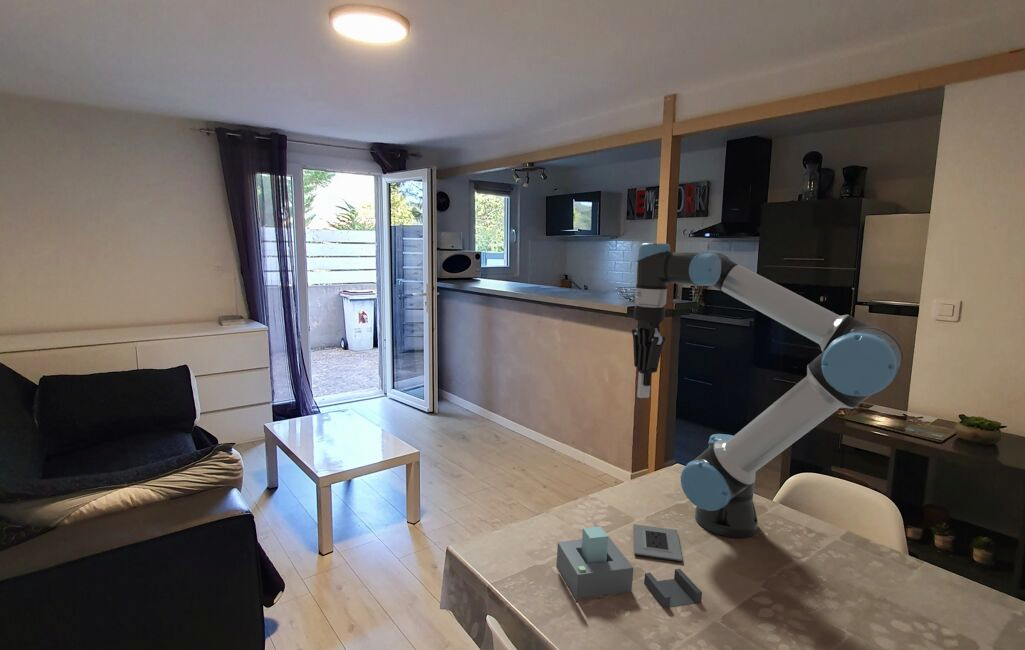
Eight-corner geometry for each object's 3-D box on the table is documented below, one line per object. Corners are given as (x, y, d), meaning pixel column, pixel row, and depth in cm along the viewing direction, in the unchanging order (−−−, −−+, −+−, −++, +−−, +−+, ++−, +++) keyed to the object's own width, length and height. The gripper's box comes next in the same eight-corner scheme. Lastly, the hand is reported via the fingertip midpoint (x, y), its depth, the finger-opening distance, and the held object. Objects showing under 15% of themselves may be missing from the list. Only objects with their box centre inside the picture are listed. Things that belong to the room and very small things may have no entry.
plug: (597, 569, 116) (600, 526, 114) (605, 580, 112) (608, 536, 110) (579, 571, 115) (582, 528, 113) (587, 583, 111) (590, 538, 109)
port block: (606, 561, 121) (608, 534, 120) (631, 594, 109) (633, 565, 108) (556, 567, 118) (557, 540, 117) (576, 602, 106) (577, 572, 105)
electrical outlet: (681, 568, 120) (682, 558, 119) (633, 561, 122) (634, 551, 121) (676, 537, 133) (676, 528, 132) (632, 531, 135) (633, 523, 134)
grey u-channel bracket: (679, 581, 114) (680, 568, 114) (701, 606, 107) (702, 592, 106) (643, 586, 112) (644, 573, 112) (663, 611, 104) (664, 597, 104)
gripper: (624, 302, 139) (618, 390, 143) (649, 308, 127) (642, 405, 130) (650, 302, 141) (644, 389, 144) (677, 308, 128) (669, 403, 132)
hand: (643, 396), depth 137 cm, fingers closed
